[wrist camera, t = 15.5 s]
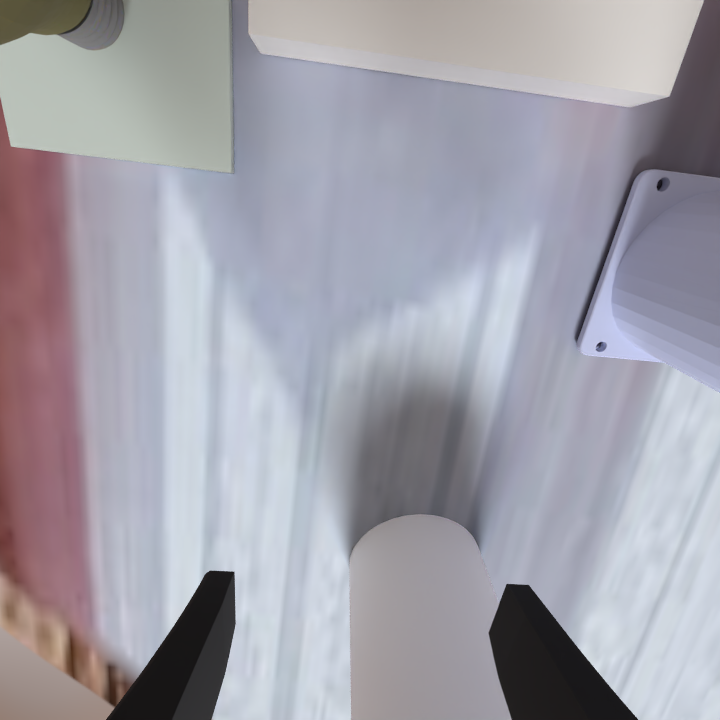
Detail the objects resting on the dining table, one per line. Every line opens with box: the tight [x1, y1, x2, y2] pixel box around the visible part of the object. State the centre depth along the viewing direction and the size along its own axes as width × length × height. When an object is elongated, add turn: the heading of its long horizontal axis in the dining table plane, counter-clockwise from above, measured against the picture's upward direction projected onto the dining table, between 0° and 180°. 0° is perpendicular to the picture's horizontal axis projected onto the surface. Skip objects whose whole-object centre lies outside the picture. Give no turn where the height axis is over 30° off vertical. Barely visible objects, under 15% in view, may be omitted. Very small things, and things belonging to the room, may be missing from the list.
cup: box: [349, 514, 512, 720], centre depth 21 cm, size 8×12×10 cm
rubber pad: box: [0, 0, 234, 174], centre depth 13 cm, size 8×8×1 cm
